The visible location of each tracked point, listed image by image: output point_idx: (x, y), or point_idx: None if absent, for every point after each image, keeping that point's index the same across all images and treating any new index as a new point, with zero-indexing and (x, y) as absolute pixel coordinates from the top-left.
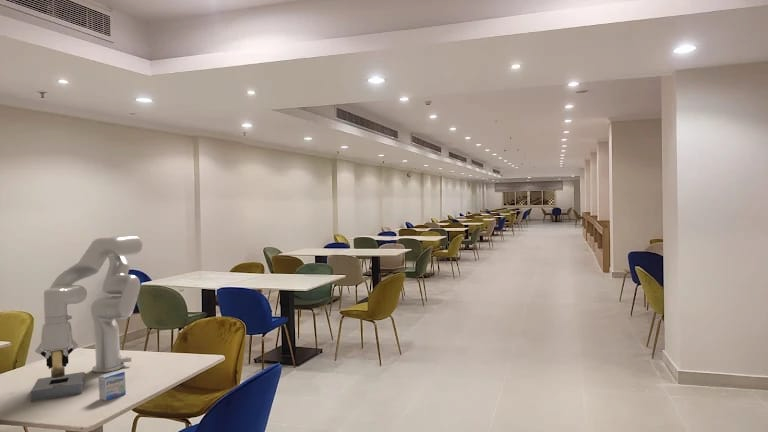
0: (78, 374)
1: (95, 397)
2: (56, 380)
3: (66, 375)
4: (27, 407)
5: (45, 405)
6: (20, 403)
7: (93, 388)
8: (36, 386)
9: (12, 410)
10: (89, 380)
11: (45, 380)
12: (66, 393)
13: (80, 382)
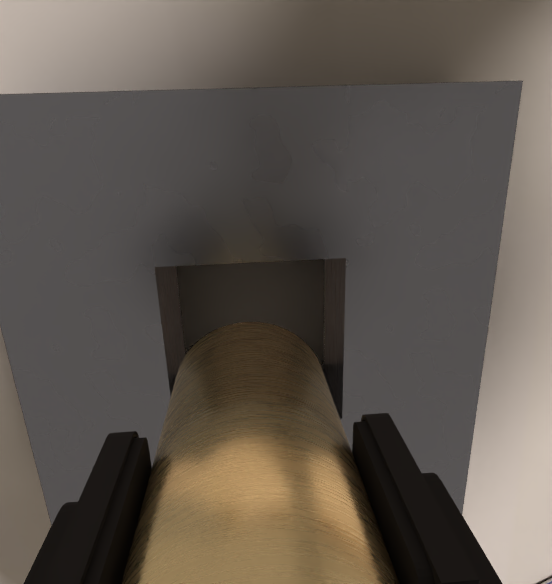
0: (448, 181)
1: (504, 555)
2: (212, 258)
3: (308, 144)
4: None
5: None
6: (13, 470)
7: (512, 364)
8: (58, 432)
9: (18, 579)
10: (503, 73)
11: (85, 245)
12: None
13: (459, 492)
